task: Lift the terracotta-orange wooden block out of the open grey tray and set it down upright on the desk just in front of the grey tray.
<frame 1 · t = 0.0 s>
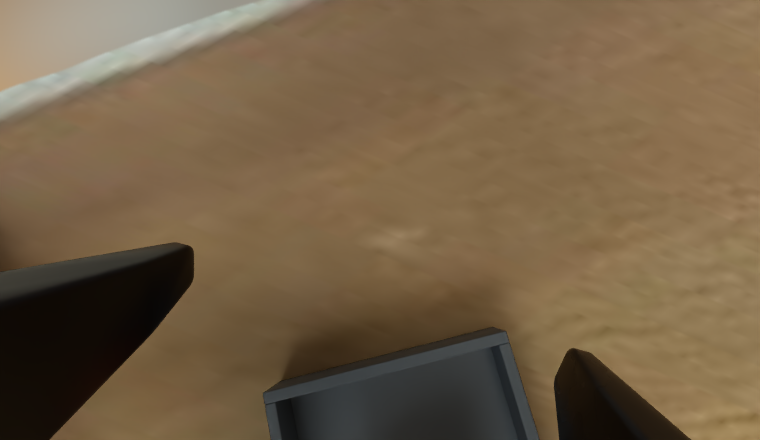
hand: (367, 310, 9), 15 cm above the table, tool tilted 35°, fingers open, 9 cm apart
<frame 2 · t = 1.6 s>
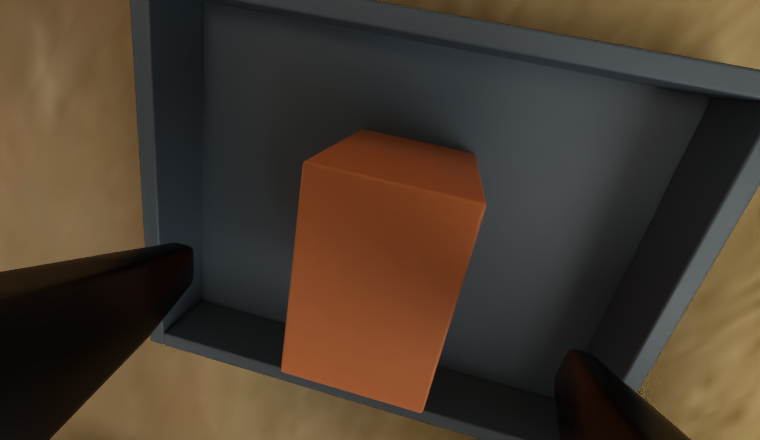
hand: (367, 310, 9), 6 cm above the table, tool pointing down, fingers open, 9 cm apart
block: (400, 220, 14), resting on grey tray
grey tray: (401, 216, 15), on the table
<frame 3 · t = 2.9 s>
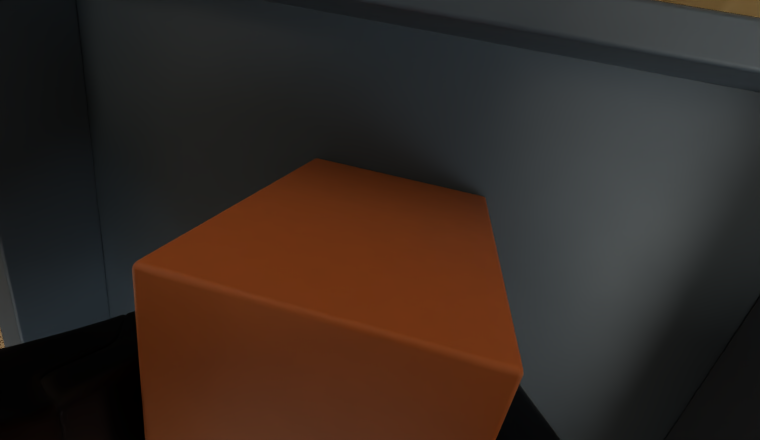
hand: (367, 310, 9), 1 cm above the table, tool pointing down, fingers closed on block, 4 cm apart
block: (375, 287, 10), resting on grey tray, touching gripper
grey tray: (378, 279, 10), on the table
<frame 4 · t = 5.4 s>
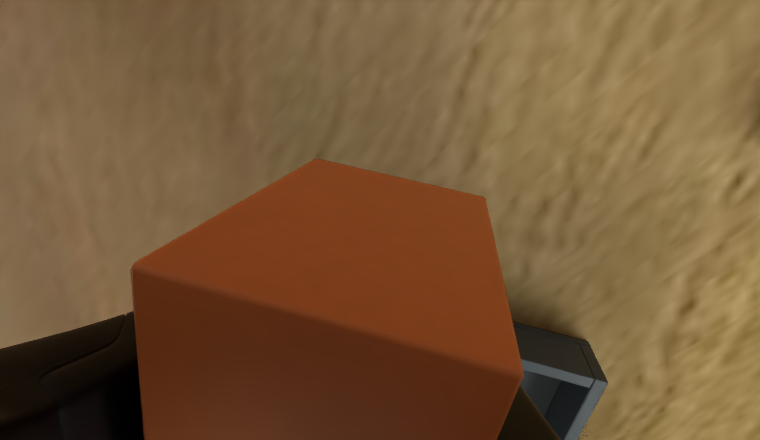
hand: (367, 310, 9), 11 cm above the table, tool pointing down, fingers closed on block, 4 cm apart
block: (375, 287, 10), point 10 cm above the table, touching gripper
grey tray: (400, 388, 23), on the table
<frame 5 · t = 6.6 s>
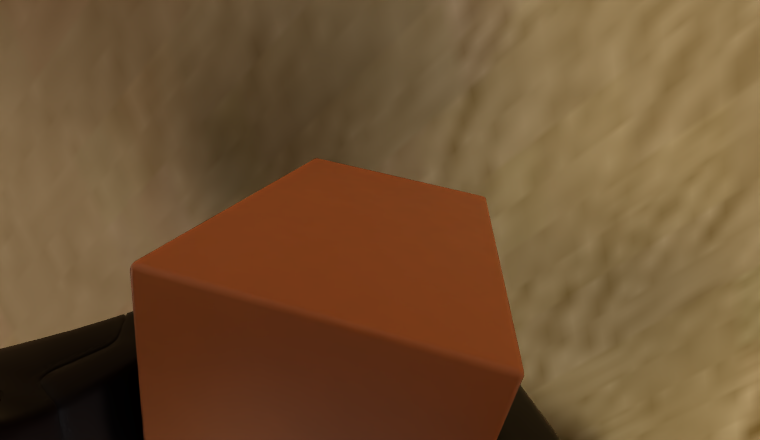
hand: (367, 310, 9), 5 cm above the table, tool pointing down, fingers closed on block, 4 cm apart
block: (375, 287, 10), point 4 cm above the table, touching gripper
when the fingers open (1 cm above the table, at t = 7.9 s): block stays where it is, on the table.
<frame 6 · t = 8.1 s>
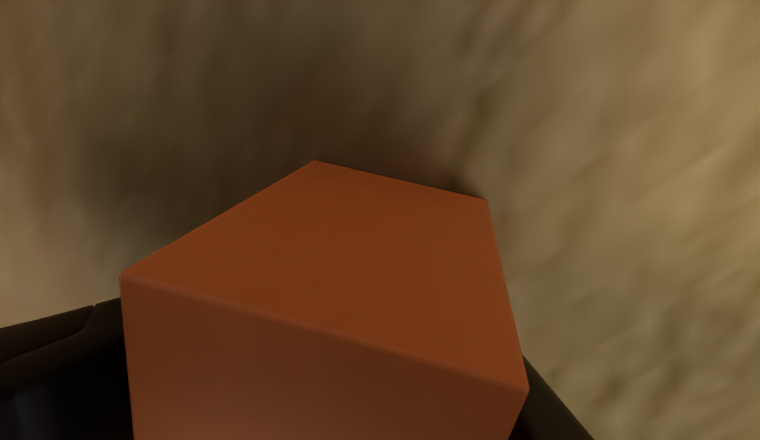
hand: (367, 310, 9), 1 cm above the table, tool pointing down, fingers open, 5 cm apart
block: (375, 291, 10), on the table
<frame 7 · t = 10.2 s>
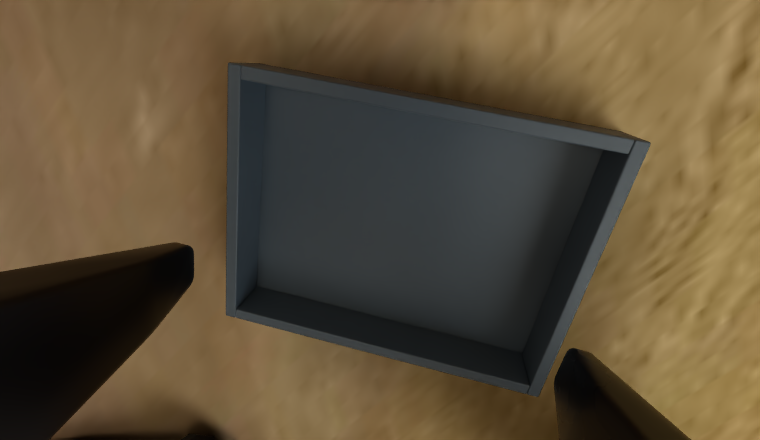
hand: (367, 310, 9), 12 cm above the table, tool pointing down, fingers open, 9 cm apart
microphone: (139, 435, 32), on the table
grey tray: (404, 222, 20), on the table
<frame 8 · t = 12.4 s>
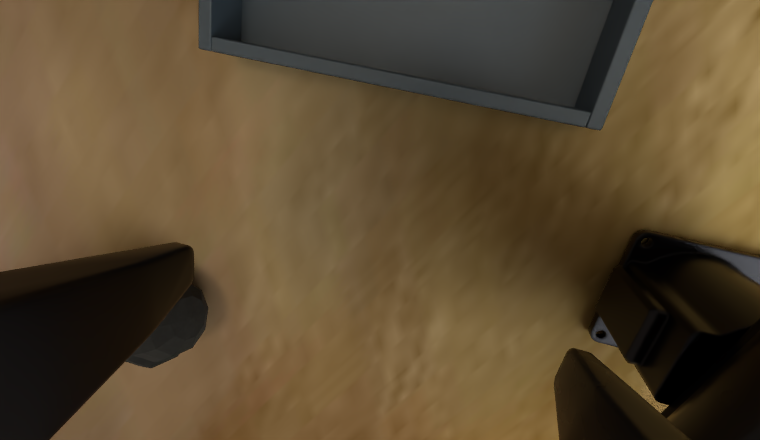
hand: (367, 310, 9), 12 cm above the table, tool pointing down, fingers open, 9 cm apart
microphone: (104, 290, 27), on the table
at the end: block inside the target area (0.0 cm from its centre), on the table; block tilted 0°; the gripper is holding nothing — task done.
